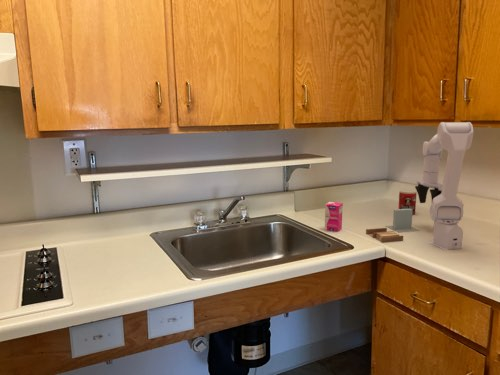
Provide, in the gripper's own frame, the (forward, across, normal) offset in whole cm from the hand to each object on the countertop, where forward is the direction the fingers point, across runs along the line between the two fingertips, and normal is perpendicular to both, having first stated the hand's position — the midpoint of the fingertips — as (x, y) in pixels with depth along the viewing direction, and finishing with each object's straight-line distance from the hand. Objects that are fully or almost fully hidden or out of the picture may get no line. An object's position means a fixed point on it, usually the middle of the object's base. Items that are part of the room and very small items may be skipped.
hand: (428, 204), depth 165 cm
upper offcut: (+9, +10, -24) cm, 27 cm away
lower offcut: (+10, +10, -24) cm, 28 cm away
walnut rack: (+10, +7, -24) cm, 27 cm away
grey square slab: (+10, -2, -10) cm, 14 cm away
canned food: (+11, -27, +9) cm, 30 cm away
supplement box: (+11, -8, -38) cm, 40 cm away
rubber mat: (+10, -2, -10) cm, 15 cm away
